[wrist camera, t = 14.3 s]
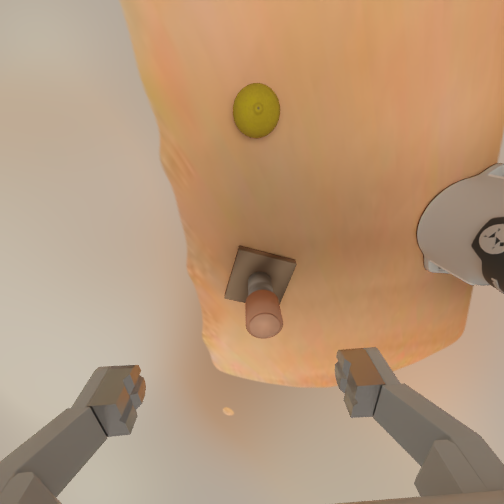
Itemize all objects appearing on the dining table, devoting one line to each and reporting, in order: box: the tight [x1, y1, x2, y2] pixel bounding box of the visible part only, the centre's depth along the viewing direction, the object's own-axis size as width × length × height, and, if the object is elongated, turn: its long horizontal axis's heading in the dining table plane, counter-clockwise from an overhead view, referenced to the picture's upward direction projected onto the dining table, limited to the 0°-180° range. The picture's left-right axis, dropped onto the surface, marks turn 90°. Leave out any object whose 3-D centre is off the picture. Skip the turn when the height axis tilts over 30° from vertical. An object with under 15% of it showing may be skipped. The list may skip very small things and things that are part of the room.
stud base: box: [225, 246, 296, 305], centre depth 39 cm, size 10×10×8 cm
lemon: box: [233, 83, 280, 138], centre depth 28 cm, size 6×6×8 cm
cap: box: [245, 290, 283, 338], centre depth 34 cm, size 5×5×5 cm
